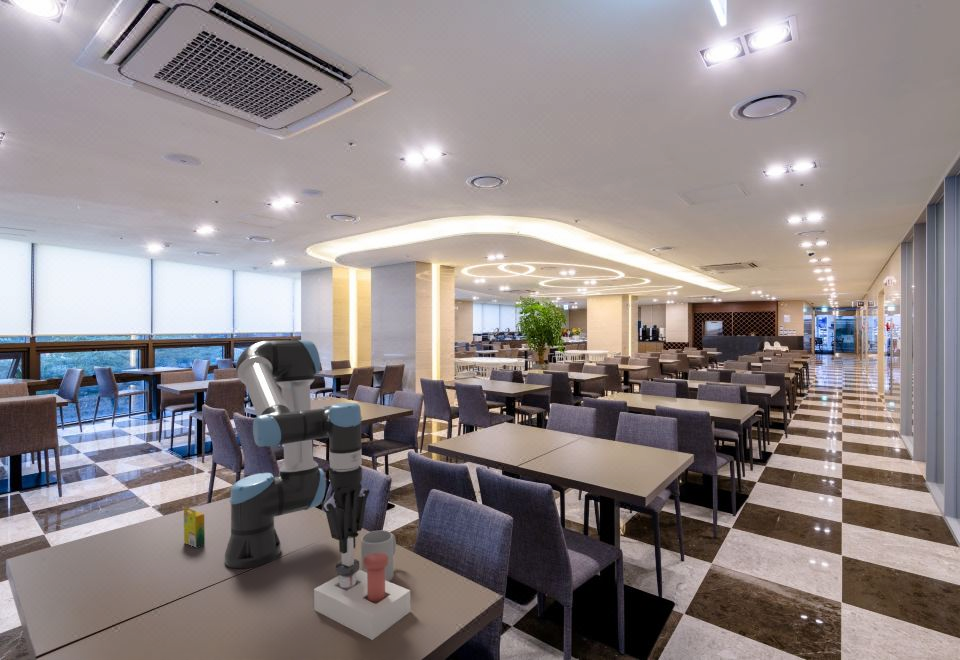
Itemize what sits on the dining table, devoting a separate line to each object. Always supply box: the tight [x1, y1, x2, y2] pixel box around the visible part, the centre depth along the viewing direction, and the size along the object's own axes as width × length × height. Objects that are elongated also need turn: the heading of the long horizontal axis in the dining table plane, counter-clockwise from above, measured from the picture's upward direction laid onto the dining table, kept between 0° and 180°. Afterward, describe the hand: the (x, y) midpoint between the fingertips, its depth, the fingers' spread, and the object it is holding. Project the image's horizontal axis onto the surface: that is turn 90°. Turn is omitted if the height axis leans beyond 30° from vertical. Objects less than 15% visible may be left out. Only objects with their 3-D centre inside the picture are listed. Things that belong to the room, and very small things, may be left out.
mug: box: [360, 529, 397, 582], centre depth 126 cm, size 12×8×11 cm
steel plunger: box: [335, 558, 360, 591], centre depth 112 cm, size 6×6×9 cm
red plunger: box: [364, 553, 388, 603], centre depth 106 cm, size 6×6×9 cm
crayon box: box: [183, 506, 206, 548], centre depth 146 cm, size 7×3×12 cm, turn 58°
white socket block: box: [313, 569, 412, 641], centre depth 109 cm, size 20×12×5 cm, turn 56°
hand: (347, 563), depth 112 cm, fingers closed
